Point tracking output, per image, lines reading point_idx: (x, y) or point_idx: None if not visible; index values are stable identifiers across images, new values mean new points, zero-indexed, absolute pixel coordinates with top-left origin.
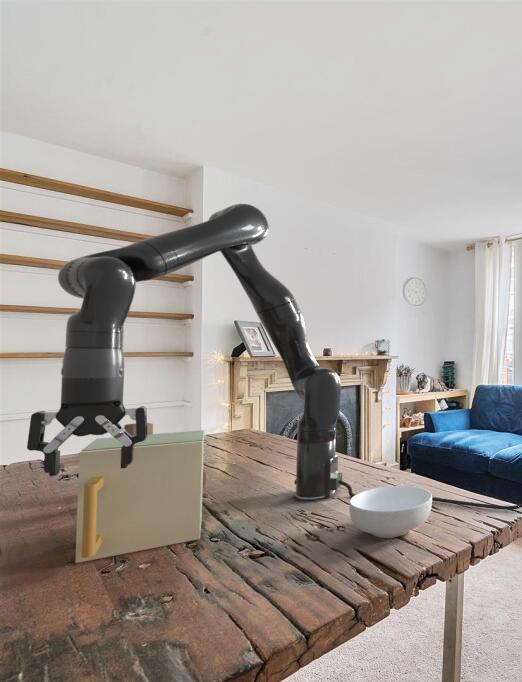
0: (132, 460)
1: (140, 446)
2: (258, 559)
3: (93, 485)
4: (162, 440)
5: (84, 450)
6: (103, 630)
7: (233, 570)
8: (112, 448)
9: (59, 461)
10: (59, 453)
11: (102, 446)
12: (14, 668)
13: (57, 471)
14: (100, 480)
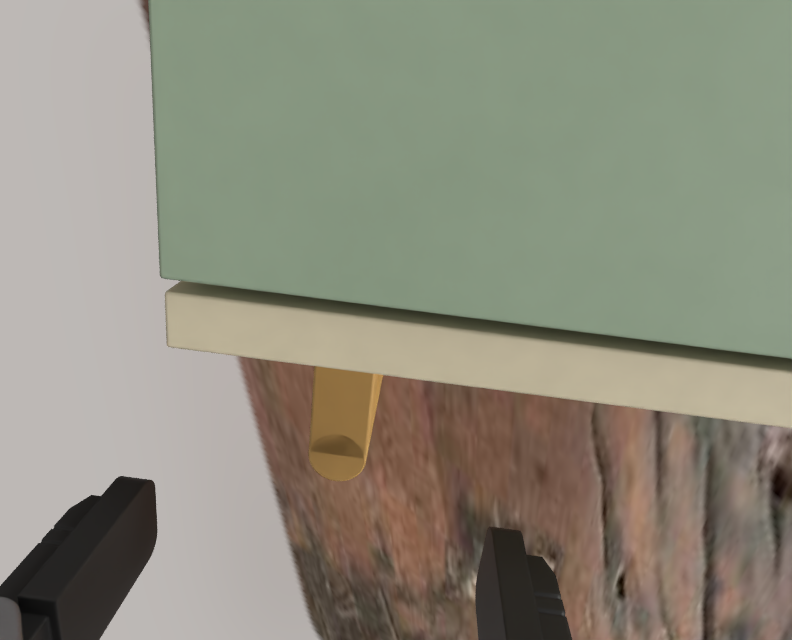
0: (550, 574)
1: (665, 372)
2: (783, 510)
3: (351, 477)
4: None
5: (187, 279)
6: (431, 609)
7: (704, 530)
8: (421, 307)
9: (111, 537)
10: (72, 597)
11: (321, 155)
12: (319, 632)
13: (146, 520)
14: (374, 382)
